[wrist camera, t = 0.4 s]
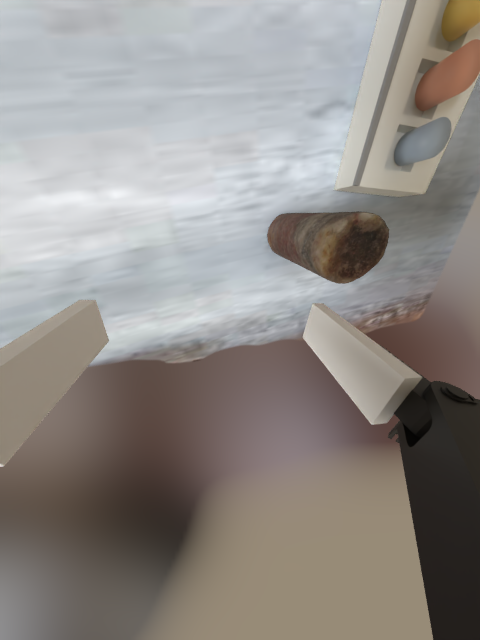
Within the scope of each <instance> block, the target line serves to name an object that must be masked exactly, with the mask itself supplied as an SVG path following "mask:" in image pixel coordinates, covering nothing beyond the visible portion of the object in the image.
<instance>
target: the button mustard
mask: <svg viewBox="0 0 480 640" xmlns="http://www.w3.org/2000/svg"><path fill="white" fill-rule="evenodd" d="M479 22H480V0H449V1H448V3H447V6H446V8H445V11H444V14H443V18H442V26H441V29H442V35H443V37H444V39H445V40H446V41H449V42H451V41H454V40H456V39H458V38H459V37H460V36H462V35H463V34H464V33H466V32H467V31H468V30H470V29H471V28H473V27H474V26H475V25H477V24H478V23H479Z"/></svg>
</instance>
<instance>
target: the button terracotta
mask: <svg viewBox="0 0 480 640" xmlns="http://www.w3.org/2000/svg"><path fill="white" fill-rule="evenodd" d="M479 72H480V40H479V39H474V40H471V41H470V42H468V43H467V44H465V45H464V46H462V47H461V48H459V49H458V50H457V51H455V52H454V53H452V54H451V55H449V56H448V57H446V58H445V59H443V60H442V61H441V62H439V63H438V64H436V65H435V66H433V67H432V68H430V69H429V70H428V71H427V72H426V73H425V74H424V75H423V77H422V78H421V80H420V82H419V84H418V86H417V89H416V94H415V104H416V107H417V108H418V109H419V110H420V111H426V110H428V109H430V108H432V107H434V106H436V105H438V104H440V103H442V102H444V101H446V100H448V99H450V98H452V97H454V96H456V95H458V94H460V93H462V92H464V91H465V90H466V89H468V88H469V87H470V86H471V85H472V83H473V82H474V81H475V79H476V78H477V76H478V74H479Z"/></svg>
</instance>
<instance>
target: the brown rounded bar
mask: <svg viewBox="0 0 480 640" xmlns="http://www.w3.org/2000/svg"><path fill="white" fill-rule="evenodd" d="M267 237H268V243H269V245H270V247H271V249H272V250H273V251H274V252H275V253H276V254H278V255H280V256H282V257H284V258H286V259H288V260H290V261H292V262H294V263H296V264H298V265H300V266H302V267H304V268H306V269H308V270H310V271H312V272H314V273H316V274H318V275H319V276H321V277H323V278H325V279H327V280H330V281H332V282H335V283H349V282H352V281H354V280H356V279H358V278H360V277H361V276H363V275H364V274H366V273H367V272H368V271H370V270H371V269H372V268H373V267H374V266H375V265H376V264H377V263H378V262H379V261H380V259H381V258H382V257H383V255H384V252H385V249H386V246H387V243H388V238H389V229H388V227H387V226H386V223H385V221H384V220H383V219H381V217H380V216H378V215H375V214H373V213H367V212H339V213H287V214H281V215H279V216H278V217H276V218H275V220H274V221H273V222H272V224H271V225H270V227H269V229H268V234H267Z"/></svg>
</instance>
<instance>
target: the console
mask: <svg viewBox="0 0 480 640" xmlns="http://www.w3.org/2000/svg"><path fill="white" fill-rule="evenodd" d="M448 1H449V0H382V2H381V6H380V10H379V14H378V18H377V22H376V26H375V30H374V34H373V38H372V41H371V45H370V49H369V53H368V57H367V61H366V65H365V69H364V73H363V77H362V81H361V85H360V89H359V92H358V96H357V100H356V104H355V108H354V112H353V116H352V120H351V124H350V128H349V132H348V136H347V140H346V144H345V147H344V151H343V155H342V159H341V163H340V167H339V171H338V175H337V179H336V183H335V187H334V190H336V191H346V192H355V193H365V194H374V195H383V196H393V197H403V196H411V195H420V194H425V193H426V190H427V188H428V186H429V184H430V182H431V179H432V177H433V175H434V173H435V171H436V169H437V166H438V164H439V162H440V160H441V158H442V155H443V153H444V151H445V149H446V147H447V145H448V142H449V140H450V138H451V136H452V134H453V131H454V129H455V127H456V125H457V123H458V121H459V118H460V116H461V114H462V112H463V110H464V107H465V105H466V103H467V101H468V99H469V97H470V94H471V92H472V90H473V88H474V86H475V83H476V81H477V79H478V77H479V75H480V72H479V74H478V76H477V78H476V79H475V81H474V82H473V83H472V85H471V86H470V87H469V88H468V89H466V90H465V91H464V92H462V93H460V94H458V95H456V96H454V97H452V98H450V99H448V100H446V101H444V102H442V103H440V104H438V105H436V106H434V107H432V108H430V109H428V110H426V111H420V110H419V109H418V108H417V107H416V104H415V94H416V89H417V86H418V84H419V82H420V80H421V78H422V77H423V75H424V74H425V73H426V72H427V71H428V70H429V69H430V68H432V67H433V66H435V65H436V64H438V63H439V62H441V61H442V60H443V59H445V58H446V57H448V56H449V55H451V54H452V53H454V52H455V51H457V50H458V49H459V48H461V47H462V46H464V45H465V44H467V43H468V42H470V41H471V40H474V39H479V40H480V22H479V23H478V24H477V25H475V26H474V27H473V28H471V29H470V30H468V31H467V32H466V33H464V34H463V35H462V36H460V37H459V38H458V39H456V40H454V41H451V42H449V41H446V40H445V39H444V37H443V35H442V29H441V26H442V18H443V14H444V11H445V8H446V6H447V3H448ZM440 117H447V118H448V119H449V120H450V122H451V127H452V128H451V134H450V138H449V140H448V142H447V144H446V146H445V147H444V149H443V150H442V151H441V152H440V153H439V154H438V155H437V156H435V157H433V158H430V159H426V160H423V161H419V162H416V163H412V164H409V165H405V166H399V165H397V164H396V162H395V160H394V152H395V148H396V145H397V143H398V141H399V140H400V138H401V137H402V136H403V135H404V134H405V133H407V132H409V131H411V130H413V129H415V128H418V127H420V126H422V125H424V124H427V123H429V122H431V121H433V120H436V119H438V118H440Z"/></svg>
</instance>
